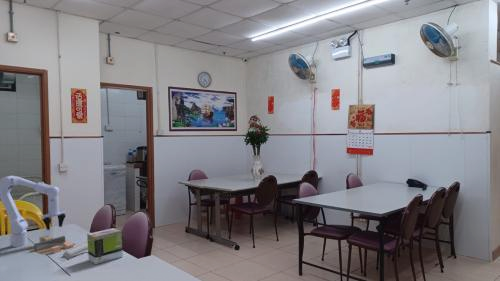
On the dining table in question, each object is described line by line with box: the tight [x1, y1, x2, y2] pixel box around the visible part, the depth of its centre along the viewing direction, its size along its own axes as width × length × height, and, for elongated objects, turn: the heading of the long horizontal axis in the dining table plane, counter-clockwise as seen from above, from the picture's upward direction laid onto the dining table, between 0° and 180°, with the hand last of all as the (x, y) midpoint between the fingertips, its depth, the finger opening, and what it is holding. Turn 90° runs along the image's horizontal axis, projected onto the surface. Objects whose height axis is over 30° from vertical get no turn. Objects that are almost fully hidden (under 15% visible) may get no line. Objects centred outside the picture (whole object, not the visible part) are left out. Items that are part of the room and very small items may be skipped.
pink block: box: [50, 246, 62, 254], centre depth 200 cm, size 4×4×3 cm
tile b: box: [63, 240, 75, 250], centre depth 208 cm, size 4×4×3 cm
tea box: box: [86, 227, 124, 265], centre depth 192 cm, size 15×10×15 cm, turn 134°
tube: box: [62, 241, 88, 260], centre depth 203 cm, size 5×5×25 cm
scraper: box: [34, 235, 66, 251], centre depth 212 cm, size 9×17×5 cm, turn 150°
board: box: [25, 243, 77, 255], centre depth 209 cm, size 18×20×2 cm
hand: (54, 228), depth 218 cm, fingers open, 7 cm apart
